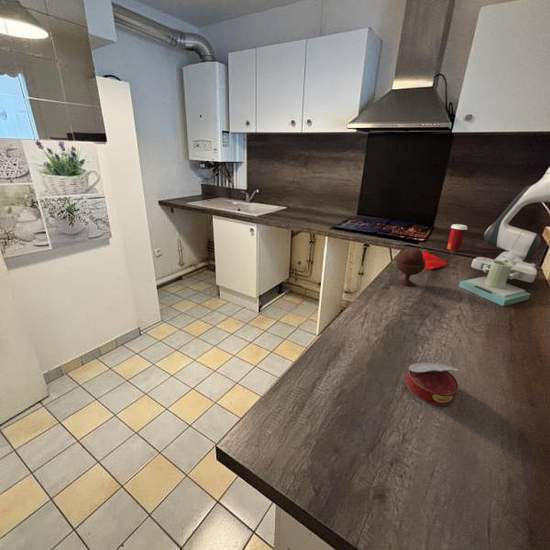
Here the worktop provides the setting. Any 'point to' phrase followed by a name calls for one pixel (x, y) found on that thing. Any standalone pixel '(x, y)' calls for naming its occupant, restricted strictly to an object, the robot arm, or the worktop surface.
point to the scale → (495, 291)
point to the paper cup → (456, 236)
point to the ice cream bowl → (410, 264)
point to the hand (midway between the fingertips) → (498, 273)
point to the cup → (498, 274)
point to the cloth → (433, 261)
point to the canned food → (432, 382)
